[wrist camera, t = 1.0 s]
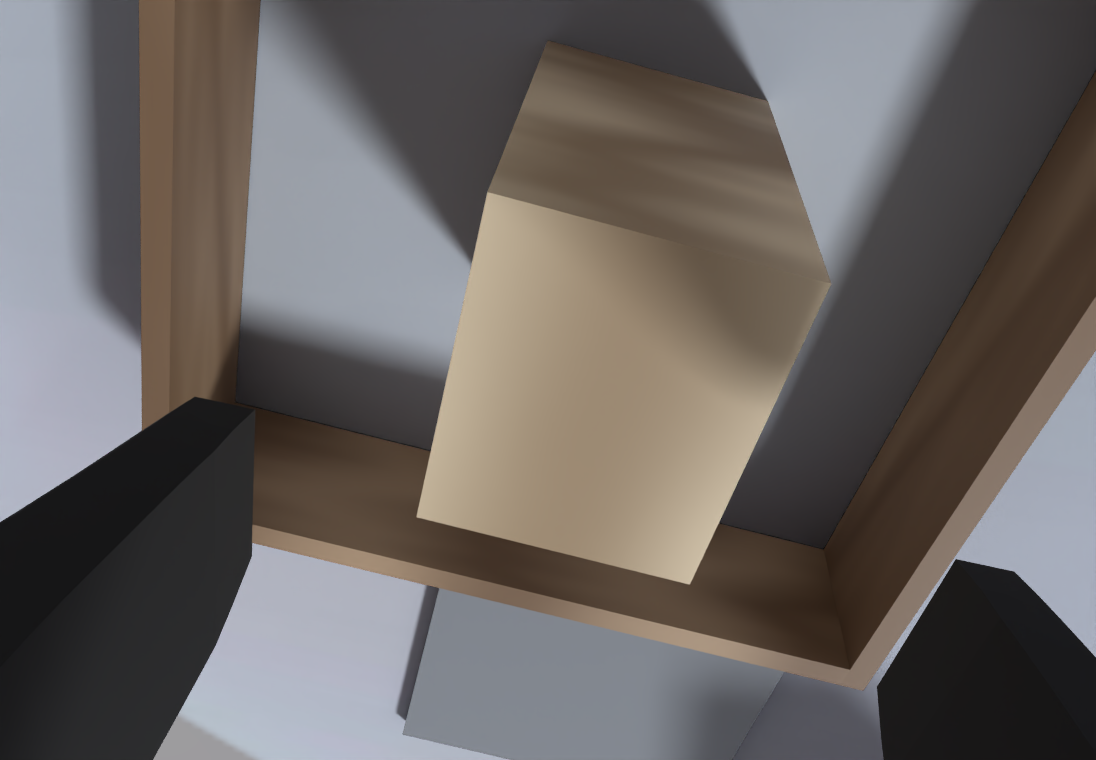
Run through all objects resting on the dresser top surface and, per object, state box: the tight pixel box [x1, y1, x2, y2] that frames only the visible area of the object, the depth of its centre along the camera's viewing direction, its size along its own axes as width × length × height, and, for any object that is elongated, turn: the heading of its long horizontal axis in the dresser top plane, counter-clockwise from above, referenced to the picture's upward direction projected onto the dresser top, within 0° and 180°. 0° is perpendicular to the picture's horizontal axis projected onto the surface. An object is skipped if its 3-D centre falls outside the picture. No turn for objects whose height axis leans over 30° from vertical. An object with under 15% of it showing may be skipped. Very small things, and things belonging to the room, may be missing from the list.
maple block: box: [417, 41, 831, 585], centre depth 15 cm, size 4×5×7 cm
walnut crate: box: [139, 0, 1096, 691], centre depth 16 cm, size 15×15×4 cm
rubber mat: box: [403, 588, 784, 760], centre depth 25 cm, size 9×8×1 cm
